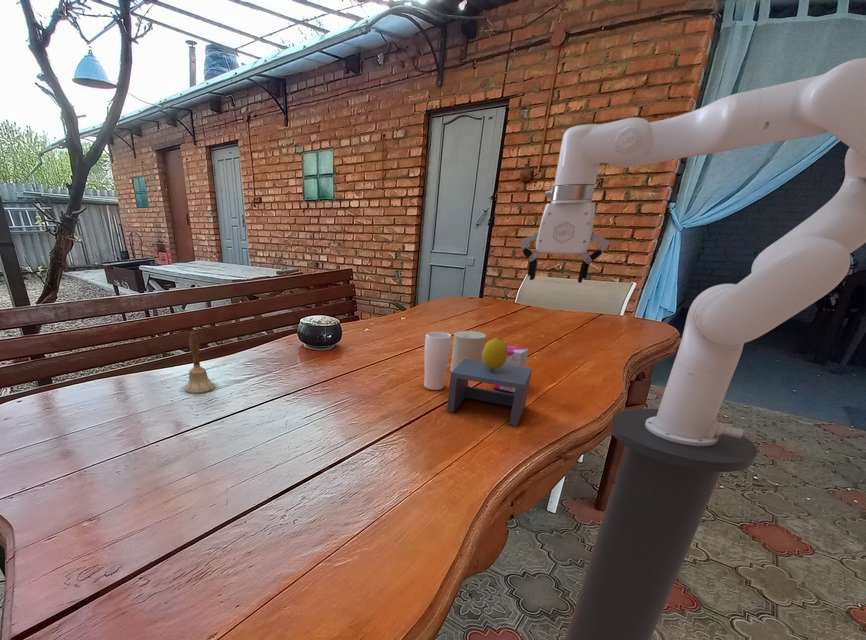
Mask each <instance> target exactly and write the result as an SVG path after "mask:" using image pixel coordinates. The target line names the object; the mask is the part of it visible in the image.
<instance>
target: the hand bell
mask: <svg viewBox="0 0 866 640" xmlns="http://www.w3.org/2000/svg"><path fill="white" fill-rule="evenodd" d="M188 346H189V350H190V352H191V355H192V362H193V367H191V368H190V369H189V371H188V380H187V383H186V384H185V385H184V387H183V388H184V389H183V390H184V392H186V393H191V394H200V393H206V392H210V391H211V390H213V389H215V387H216V386H215V383H214V382H212V381H211V380H210V378H209V377H208V373H207V370H206V368H204V367H202V366H201V362H200V356H199V354H200V341H199V339H198V336H197V334H196V332H195V331H191V332H189V338H188Z"/></svg>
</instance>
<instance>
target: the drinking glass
mask: <svg viewBox="0 0 866 640" xmlns="http://www.w3.org/2000/svg"><path fill="white" fill-rule="evenodd" d="M451 347H452V334H450V333H448V332H445V331H430V332H427V333H426V334H425V338H424V348H423V352H424V354H423V357H424V359H423V360H424V361H423V363H424V364H423V365H424V370H423V371H424V377H423V378H424V381H423V386H424V388H425V389H427V390H429V391H430V390H431V391H440V390H442V389H444V386H445V379H446V374H447V369H448V363H449V359H450V354H451Z"/></svg>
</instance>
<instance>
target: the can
mask: <svg viewBox="0 0 866 640" xmlns="http://www.w3.org/2000/svg"><path fill="white" fill-rule="evenodd" d="M486 338H487V335H486V334H485V333H483V332H480V331H474V330H459V331H455V332H454V333H453V342H452V344H453V345H452V353H451V354H452V355H451V362H450V368H449V371H450V373H451V372H452V371H453V370H454V369H455V368H456V367H457V366H458V365H459V364H460V363H461V362H462V361H463V360H464V359H469V360H476V361H483V360H482V352H483V348H484V346H485V344H486Z"/></svg>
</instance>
